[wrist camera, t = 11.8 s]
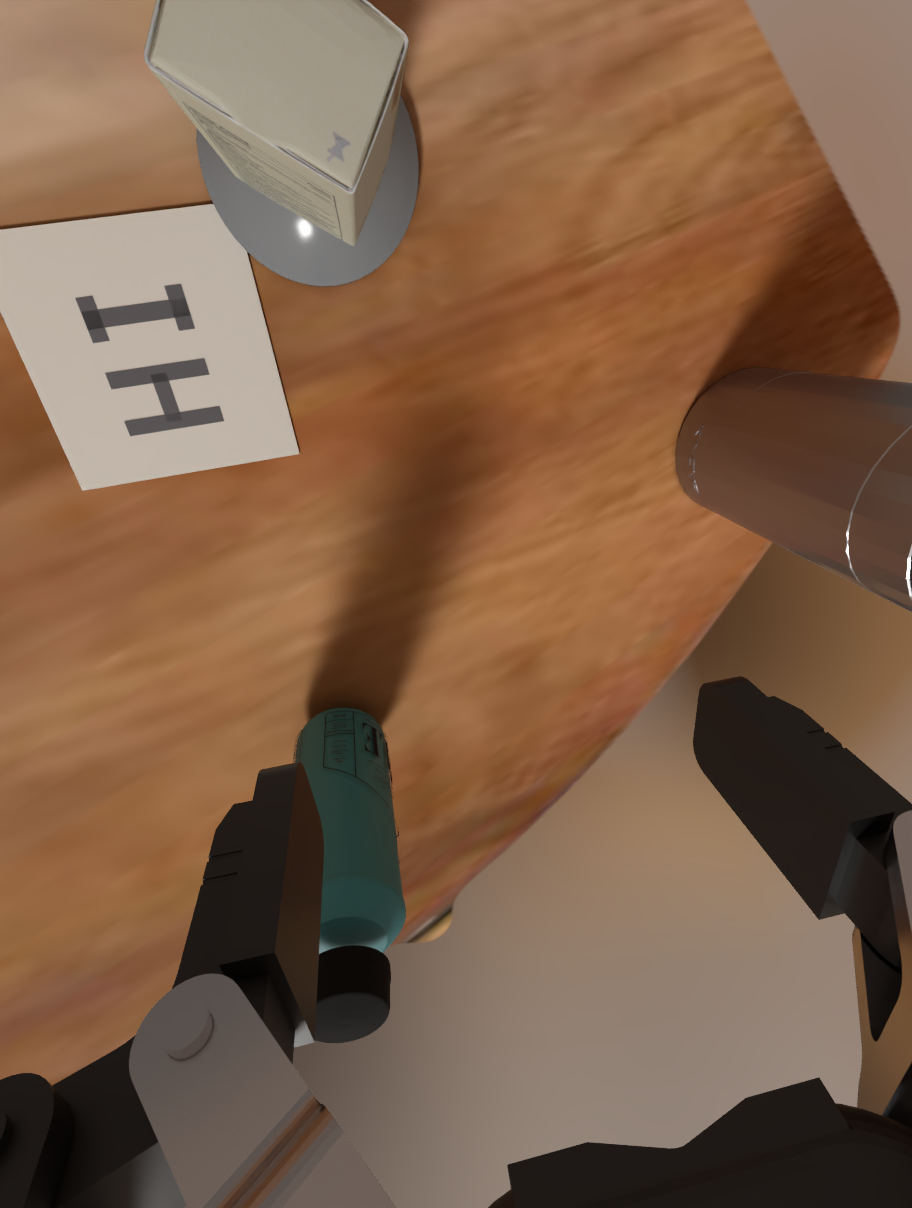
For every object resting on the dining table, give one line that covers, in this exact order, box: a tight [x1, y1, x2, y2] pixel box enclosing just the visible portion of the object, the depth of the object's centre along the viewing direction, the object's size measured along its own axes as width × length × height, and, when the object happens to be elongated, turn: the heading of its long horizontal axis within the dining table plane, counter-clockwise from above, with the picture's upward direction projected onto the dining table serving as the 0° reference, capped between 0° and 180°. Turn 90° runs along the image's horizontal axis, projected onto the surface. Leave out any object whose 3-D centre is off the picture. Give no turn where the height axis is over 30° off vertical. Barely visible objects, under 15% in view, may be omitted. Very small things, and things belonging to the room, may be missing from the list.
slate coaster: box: [197, 95, 419, 287], centre depth 26 cm, size 10×10×1 cm
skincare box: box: [144, 0, 409, 246], centre depth 20 cm, size 6×4×12 cm
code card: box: [0, 204, 300, 491], centre depth 29 cm, size 12×12×1 cm
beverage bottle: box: [293, 708, 406, 1043], centre depth 32 cm, size 6×7×20 cm
